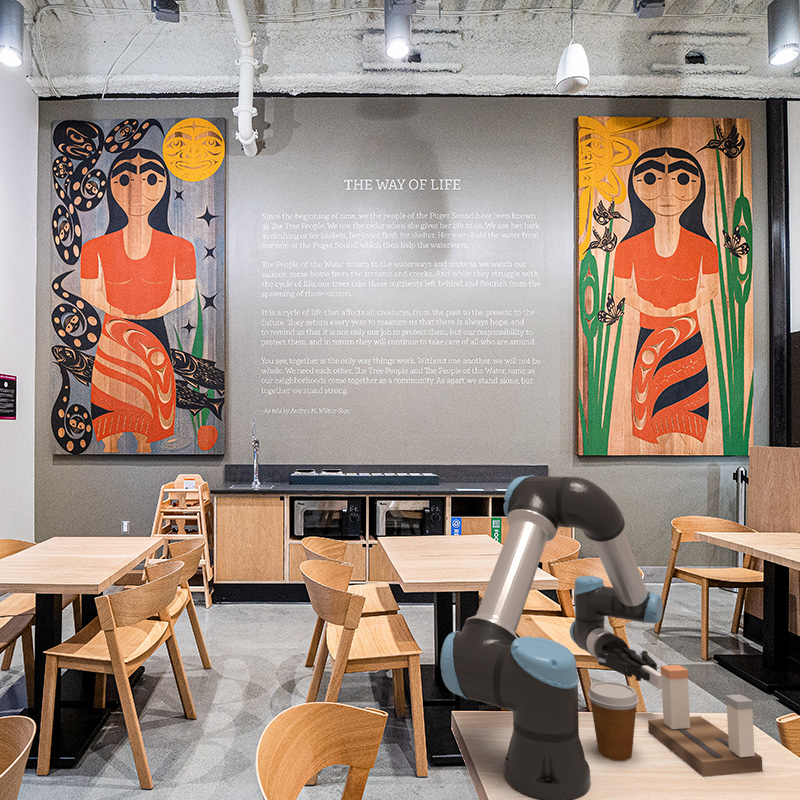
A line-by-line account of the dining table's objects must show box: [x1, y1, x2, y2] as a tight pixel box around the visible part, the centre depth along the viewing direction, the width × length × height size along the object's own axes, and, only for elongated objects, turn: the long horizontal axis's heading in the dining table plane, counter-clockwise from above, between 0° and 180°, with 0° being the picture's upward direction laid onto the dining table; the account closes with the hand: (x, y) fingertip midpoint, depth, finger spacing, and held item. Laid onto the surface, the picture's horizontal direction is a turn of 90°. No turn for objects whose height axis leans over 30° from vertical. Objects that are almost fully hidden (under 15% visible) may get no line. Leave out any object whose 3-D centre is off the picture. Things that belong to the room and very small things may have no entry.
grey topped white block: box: [725, 694, 756, 757], centre depth 115 cm, size 3×3×10 cm
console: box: [647, 715, 764, 777], centre depth 121 cm, size 18×12×4 cm, turn 9°
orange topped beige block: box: [660, 664, 691, 729], centre depth 126 cm, size 3×4×11 cm
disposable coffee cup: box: [587, 681, 639, 762], centre depth 121 cm, size 10×10×12 cm
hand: (661, 682), depth 132 cm, fingers closed
